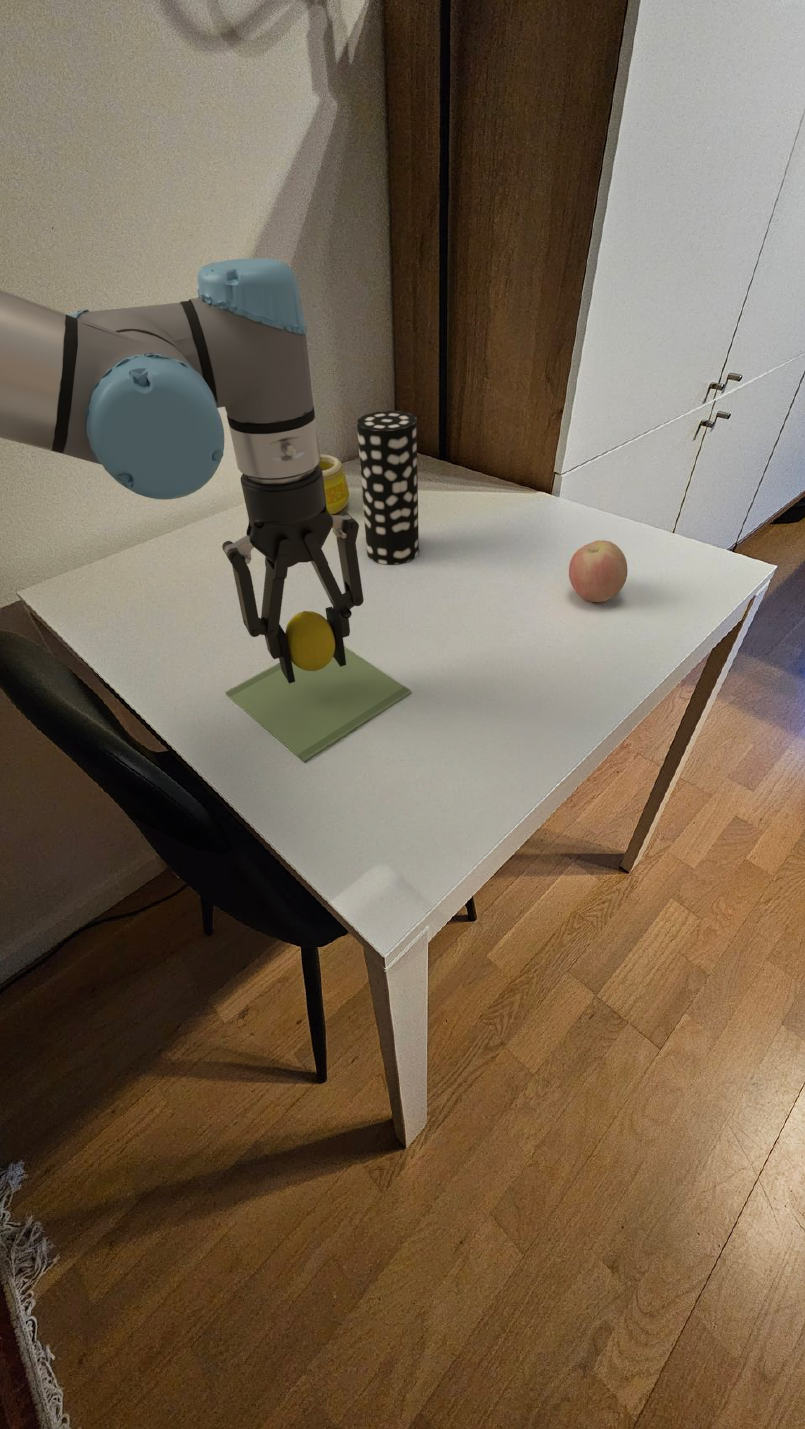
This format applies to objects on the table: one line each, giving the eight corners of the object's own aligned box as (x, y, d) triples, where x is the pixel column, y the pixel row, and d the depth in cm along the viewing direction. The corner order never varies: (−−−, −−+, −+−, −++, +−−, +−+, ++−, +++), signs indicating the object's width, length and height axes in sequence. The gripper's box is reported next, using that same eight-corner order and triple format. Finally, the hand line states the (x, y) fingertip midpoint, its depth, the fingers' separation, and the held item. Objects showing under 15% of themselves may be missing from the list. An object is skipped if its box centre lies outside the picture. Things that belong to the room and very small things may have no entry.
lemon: (345, 660, 74) (338, 602, 69) (326, 689, 71) (317, 630, 65) (303, 652, 76) (293, 595, 70) (282, 680, 72) (270, 622, 67)
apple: (585, 576, 93) (594, 526, 88) (631, 595, 89) (644, 543, 84) (553, 598, 89) (561, 546, 84) (600, 619, 85) (611, 566, 80)
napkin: (304, 762, 68) (303, 760, 67) (225, 694, 76) (224, 692, 76) (411, 693, 75) (411, 690, 75) (328, 638, 84) (328, 636, 84)
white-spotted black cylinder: (358, 559, 99) (346, 427, 86) (379, 536, 105) (371, 408, 91) (407, 568, 97) (403, 433, 83) (426, 543, 102) (425, 413, 89)
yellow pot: (348, 520, 109) (341, 450, 101) (285, 522, 110) (273, 452, 102) (353, 490, 119) (347, 423, 111) (295, 491, 119) (285, 425, 111)
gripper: (187, 507, 52) (245, 712, 68) (390, 461, 58) (399, 661, 73) (170, 475, 57) (227, 674, 73) (357, 436, 63) (373, 628, 78)
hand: (313, 667), depth 73 cm, fingers closed on lemon, 6 cm apart
